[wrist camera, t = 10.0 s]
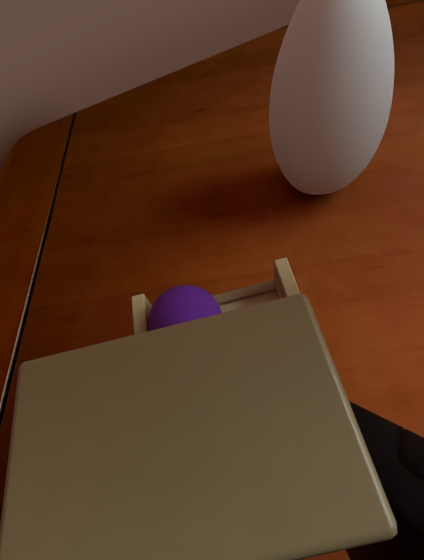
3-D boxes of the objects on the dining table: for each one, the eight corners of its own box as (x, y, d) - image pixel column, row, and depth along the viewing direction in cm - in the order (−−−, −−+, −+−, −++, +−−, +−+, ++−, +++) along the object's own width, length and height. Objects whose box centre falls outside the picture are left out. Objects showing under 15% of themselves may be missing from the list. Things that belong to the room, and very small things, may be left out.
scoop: (365, 505, 13) (815, 567, 2) (172, 547, 13) (-333, 798, 2) (285, 285, 18) (293, -25, 7) (149, 320, 18) (-40, 70, 7)
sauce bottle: (381, 207, 28) (507, -142, 12) (283, 228, 28) (286, -82, 13) (348, 144, 32) (410, -175, 16) (262, 164, 32) (247, -128, 17)
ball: (212, 380, 14) (139, 345, 13) (191, 364, 17) (131, 335, 16) (246, 307, 14) (179, 269, 13) (220, 304, 17) (163, 273, 16)
